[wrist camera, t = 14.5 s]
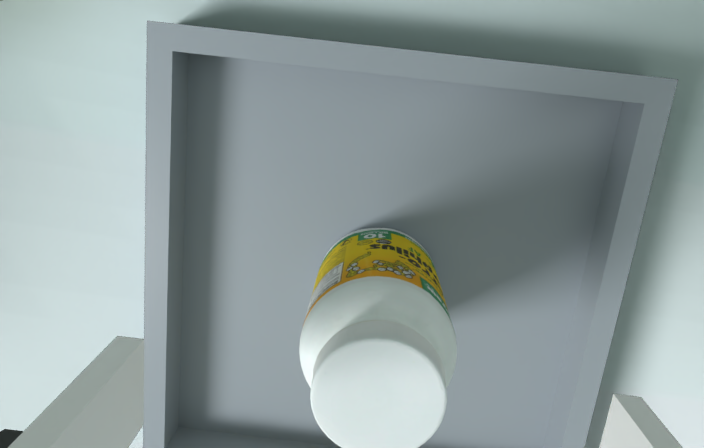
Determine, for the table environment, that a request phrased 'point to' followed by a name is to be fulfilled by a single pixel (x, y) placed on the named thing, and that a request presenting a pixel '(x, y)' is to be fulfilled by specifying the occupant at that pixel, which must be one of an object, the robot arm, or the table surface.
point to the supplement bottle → (378, 342)
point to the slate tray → (384, 225)
